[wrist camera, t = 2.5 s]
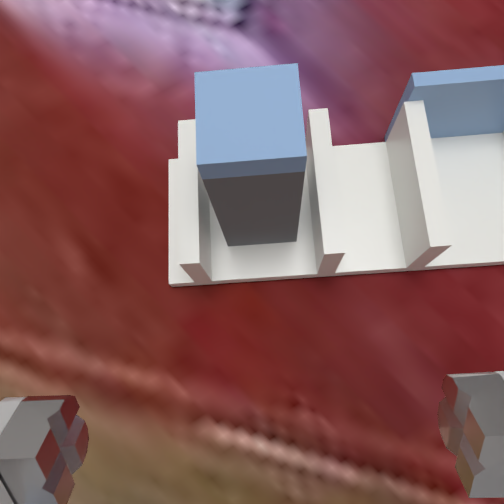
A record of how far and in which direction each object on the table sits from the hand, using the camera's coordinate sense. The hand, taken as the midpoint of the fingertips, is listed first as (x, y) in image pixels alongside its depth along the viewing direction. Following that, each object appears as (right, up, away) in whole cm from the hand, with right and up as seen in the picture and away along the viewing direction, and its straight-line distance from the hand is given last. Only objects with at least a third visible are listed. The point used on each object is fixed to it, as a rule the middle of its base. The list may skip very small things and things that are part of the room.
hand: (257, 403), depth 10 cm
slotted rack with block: (+6, +6, +17) cm, 19 cm away
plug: (0, +6, +16) cm, 17 cm away
